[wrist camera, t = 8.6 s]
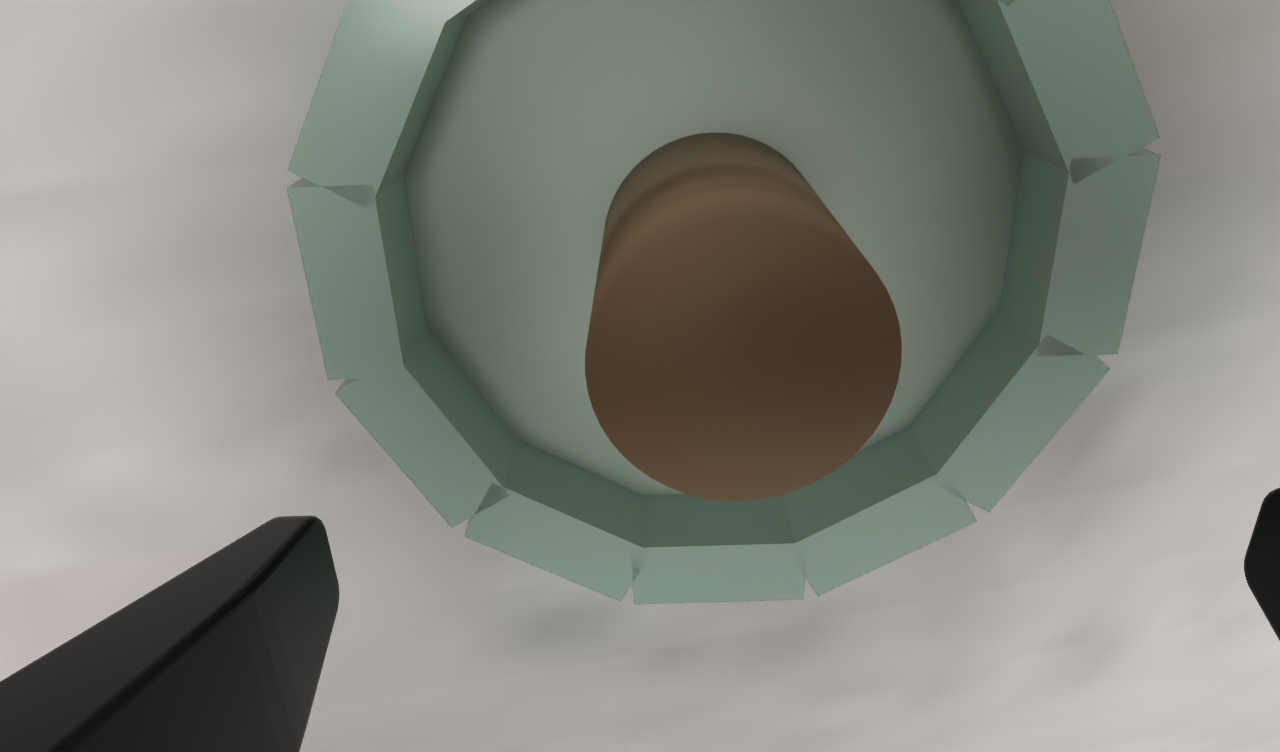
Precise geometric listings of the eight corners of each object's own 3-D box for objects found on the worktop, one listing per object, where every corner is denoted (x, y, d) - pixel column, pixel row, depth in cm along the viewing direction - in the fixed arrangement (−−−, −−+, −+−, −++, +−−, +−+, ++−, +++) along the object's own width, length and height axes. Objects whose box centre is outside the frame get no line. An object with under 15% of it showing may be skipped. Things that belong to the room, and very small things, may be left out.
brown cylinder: (816, 340, 18) (887, 496, 13) (609, 347, 18) (594, 505, 13) (827, 127, 16) (915, 206, 11) (596, 136, 17) (574, 218, 11)
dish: (1015, 517, 21) (1065, 592, 19) (409, 535, 22) (377, 611, 19) (1144, -212, 15) (1247, -248, 12) (278, -172, 15) (204, -199, 13)
